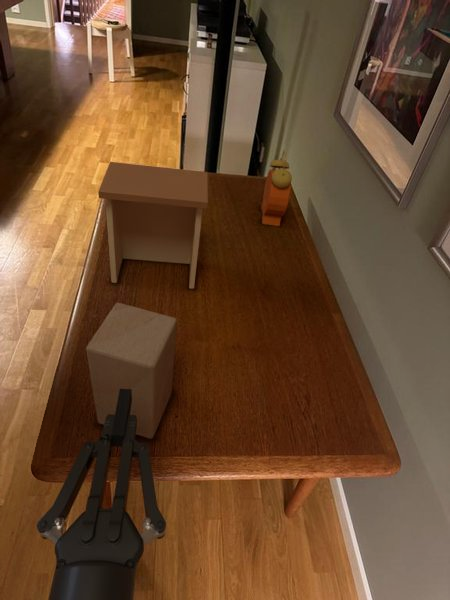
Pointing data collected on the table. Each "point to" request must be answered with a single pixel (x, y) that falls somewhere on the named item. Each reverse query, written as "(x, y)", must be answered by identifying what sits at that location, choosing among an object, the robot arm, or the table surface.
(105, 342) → the wooden block
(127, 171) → the desk
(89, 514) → the robot arm
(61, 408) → the table surface
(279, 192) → the alarm clock
